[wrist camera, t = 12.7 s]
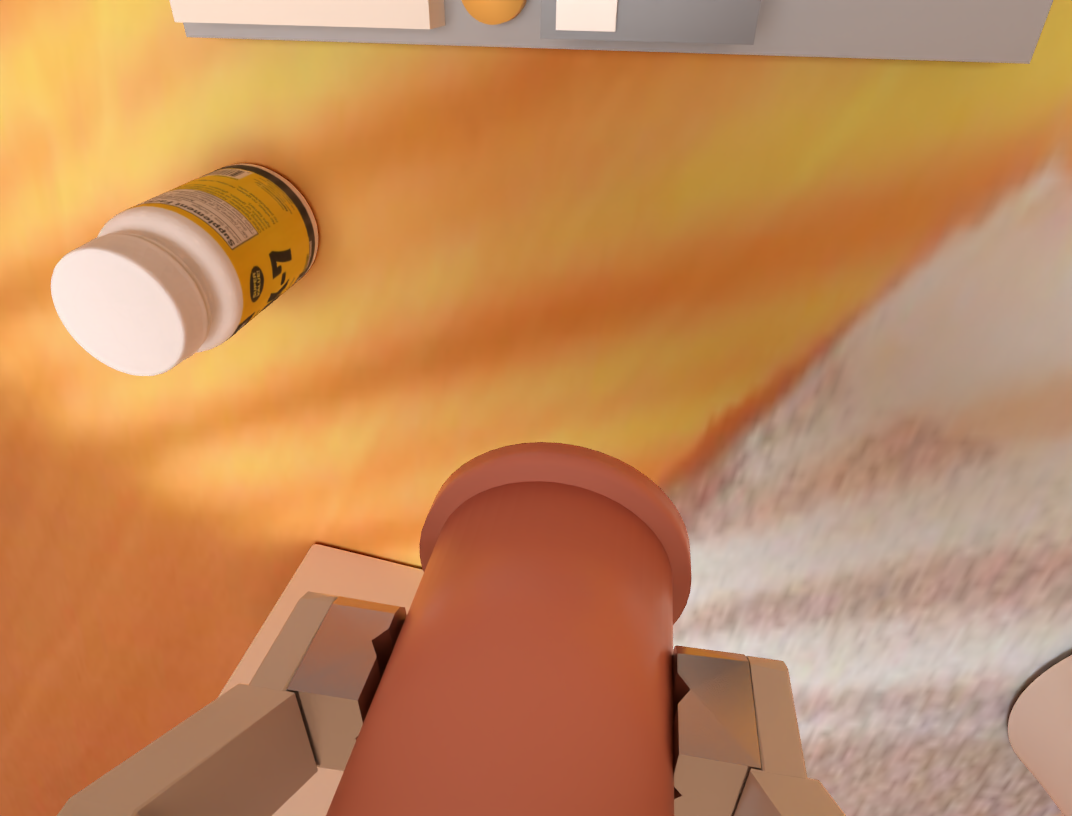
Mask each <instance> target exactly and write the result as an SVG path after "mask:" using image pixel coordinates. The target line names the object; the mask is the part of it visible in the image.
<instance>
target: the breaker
mask: <svg viewBox="0 0 1072 816" xmlns="http://www.w3.org/2000/svg"><path fill="white" fill-rule="evenodd" d="M760 4H761V0H541V14H540V39H572V40H606V41H640V42H673V43H707V44H741V45H754V39H755V34H756V28H757V22H758V16H759V10H760Z"/></svg>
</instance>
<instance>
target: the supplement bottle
mask: <svg viewBox="0 0 1072 816" xmlns="http://www.w3.org/2000/svg"><path fill="white" fill-rule="evenodd" d="M317 249H318V229H317V224H316V220H315V218H314V215H313V213H312V210H311V208H310V206H309V205H308V203H307V201H306V200H305V198H304V197H303V196H302V194H301V193H300V192H299V191H298V190H297V189H296V188H295V187H294V186H293V185H292V184H291V183H290V182H289V181H288V180H286V179H285V178H283V177H282V176H280V175H279V174H277V173H275V172H273V171H272V170H269V169H267V168H264V167H262V166H258V165H254V164H234V165H229V166H226V167H223V168H221V169H218V170H216V171H214V172H211V173H209V174H207V175H204V176H202V177H200V178H197V179H195V180H193V181H190V182H188V183H186V184H184V185H181V186H179V187H177V188H175V189H172V190H170V191H168V192H166V193H163V194H161V195H159V196H156V197H154V198H152V199H150V200H147V201H145V202H143V203H140V204H138V205H136V206H134V207H131V208H129V209H127V210H125V211H123V212H121V213H119V214H117V215H116V216H114V217H113V218H112V219H110V220H109V221H108V222H107V223H106V224H105V225H104V227H103V228H102V229H101V231H100V233H99V235H98V237H97V238H95V239H93V240H91V241H90V242H88V243H86V244H84V245H82V246H80V247H79V248H77V249H75V250H73V251H71V252H69V253H67V254H66V255H65V256H64V257H63V258H62V259H61V260H60V261H59V262H58V263H57V265H56V267H55V269H54V271H53V275H52V279H51V293H52V299H53V302H54V306H55V308H56V311H57V313H58V315H59V317H60V319H61V321H62V323H63V324H64V326H65V328H66V329H67V331H68V332H69V333H70V334H71V336H72V337H73V338H74V339H75V340H76V341H77V343H78V344H79V345H80V346H82V347H83V348H84V349H85V350H86V351H87V352H88V353H89V354H91V355H92V356H93V357H95V358H96V359H98V360H99V361H101V362H102V363H104V364H106V365H107V366H109V367H111V368H113V369H116V370H118V371H121V372H124V373H127V374H130V375H137V376H153V375H158V374H162V373H164V372H167V371H168V370H170V369H172V368H173V367H175V366H176V365H178V364H179V363H180V362H182V361H183V360H185V359H187V358H189V357H190V356H192V355H193V354H194V353H196V352H202V351H206V350H210V349H212V348H214V347H217V346H218V345H220V344H222V343H223V342H225V341H226V340H228V339H229V338H230V337H231V336H233V335H234V334H235V333H236V332H237V331H238V330H239V329H241V328H242V327H243V326H244V325H246V324H247V323H248V322H249V321H250V320H252V319H253V318H254V317H255V316H256V315H258V314H259V313H260V312H261V311H262V310H264V309H265V308H266V307H267V306H268V305H270V304H271V303H272V302H273V301H274V300H276V299H277V298H278V297H279V296H280V295H282V294H283V293H284V292H285V291H286V290H287V289H289V288H290V287H291V286H293V285H294V284H295V283H296V282H297V281H298V280H300V279H301V278H302V277H303V276H304V275H305V274H306V273H307V272H308V270H309V269H310V268H311V266H312V264H313V262H314V260H315V257H316V253H317Z"/></svg>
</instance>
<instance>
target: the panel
mask: <svg viewBox="0 0 1072 816" xmlns="http://www.w3.org/2000/svg"><path fill="white" fill-rule="evenodd" d="M169 1H170V5H171V9H172V13H173V17H174V21H175V22H183V24H184V28H185V32H186V36H187V37H202V38H234V39H265V40H297V41H329V42H360V43H392V44H424V45H455V46H487V47H519V48H550V49H582V50H614V51H646V52H677V53H709V54H741V55H772V56H804V57H836V58H867V59H899V60H931V61H962V62H994V63H1026V64H1030V61H1031V58H1032V56H1033V53H1034V50H1035V48H1036V45H1037V42H1038V40H1039V37H1040V34H1041V32H1042V29H1043V26H1044V24H1045V21H1046V18H1047V16H1048V13H1049V10H1050V8H1051V5H1052V2H1053V0H761V4H760V10H759V16H758V22H757V28H756V34H755V39H754V45H741V44H707V43H673V42H640V41H606V40H572V39H540V14H541V0H169Z"/></svg>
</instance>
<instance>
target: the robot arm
mask: <svg viewBox="0 0 1072 816" xmlns="http://www.w3.org/2000/svg"><path fill="white" fill-rule="evenodd" d="M406 616H407V615H406V609H405V607H400V606H394V605H388V604H382V603H376V602H371V601H365V600H359V599H353V598H347V597H342V596H336V595H329V594H323V593H316V592H310V591H308V592H307V593H306V594H305V595H304V596H303V597H301V598H300V599H299V600H298V602H297V604H296V605H295V607H294V609H293V610H292V612H291V614H290V615H289V617H288V619H287V621H286V622H285V624H284V626H283V627H282V629H281V631H280V632H279V634H278V636H277V637H276V639H275V641H274V643H273V644H272V646H271V648H270V649H269V651H268V653H267V654H266V656H265V658H264V659H263V661H262V663H261V665H260V666H259V668H258V670H257V671H256V673H255V675H254V676H253V678H252V680H251V682H250V683H249V684H241V683H239V684H237V685H236V686H234V687H233V688H231V689H230V690H229V691H227V692H226V693H224V694H223V695H221V696H220V697H218V698H217V699H215V700H214V701H212V702H211V703H209V704H208V705H206V706H205V707H203V708H202V709H201V710H199V711H198V712H196V713H195V714H193V715H192V716H190V717H189V718H187V719H186V720H184V721H183V722H181V723H180V724H178V725H177V726H175V727H174V728H173V729H171V730H170V731H168V732H167V733H165V734H164V735H162V736H161V737H159V738H158V739H156V740H155V741H153V742H152V743H150V744H149V745H147V746H146V747H145V748H143V749H142V750H140V751H139V752H137V753H136V754H134V755H133V756H131V757H130V758H128V759H127V760H125V761H124V762H122V763H121V764H119V765H118V766H117V767H115V768H114V769H112V770H111V771H109V772H108V773H106V774H105V775H103V776H102V777H100V778H99V779H97V780H96V781H94V782H93V783H91V784H90V785H88V786H87V787H86V788H84V789H83V790H81V791H80V792H78V793H77V794H75V795H74V796H72V797H71V798H69V800H68V801H67V803H66V804H65V805H64V807H63V808H62V809H61V811H60V812H59V814H58V815H57V816H272V815H273V814H274V813H275V812H276V811H277V810H278V809H279V808H280V807H281V806H282V805H283V804H284V803H285V802H286V801H288V800H289V799H290V798H291V797H292V796H293V795H294V794H295V793H296V792H297V791H298V790H299V789H300V788H301V787H302V786H303V785H304V784H305V783H306V782H307V781H308V780H309V779H310V778H311V777H312V776H313V775H314V774H315V773H316V772H317V771H318V768H317V767H320V768H327V769H334V770H340V771H344V770H345V767H346V765H347V762H348V760H349V757H350V755H351V752H352V750H353V748H354V745H355V743H356V740H357V738H358V735H359V733H360V730H361V728H362V725H363V723H364V720H365V718H366V715H367V713H368V710H369V708H370V705H371V703H372V700H373V698H374V695H375V693H376V691H377V688H378V686H379V683H380V681H381V678H382V676H383V673H384V671H385V668H386V666H387V663H388V661H389V658H390V656H391V653H392V651H393V648H394V646H395V643H396V641H397V638H398V636H399V634H400V631H401V629H402V626H403V624H404V621H405V619H406ZM672 683H673V718H674V723H673V779H674V816H846V815H845V814H844V812H843V811H842V810H841V808H840V807H839V806H838V804H837V803H836V802H835V800H834V799H833V798H832V797H831V795H830V794H829V793H828V791H827V790H826V789H825V787H824V786H823V785H822V783H821V782H820V781H819V780H816V779H811V778H807V773H806V768H805V762H804V756H803V751H802V745H801V740H800V734H799V728H798V723H797V717H796V711H795V706H794V700H793V694H792V689H791V683H790V678H789V672H788V668H787V666H786V665H785V663H784V662H783V661H780V660H773V659H765V658H758V657H750V656H745V655H744V654H736V653H728V652H721V651H713V650H705V649H698V648H690V647H683V646H675V648H674V650H673V654H672ZM1008 736H1009V741H1010V744H1011V746H1012V748H1013V750H1014V752H1015V754H1016V755H1017V756H1018V758H1019V759H1020V760H1021V761H1022V762H1023V764H1024V765H1025V766H1026V767H1027V768H1028V769H1029V771H1030V772H1031V773H1032V774H1033V775H1034V777H1035V778H1036V779H1037V780H1038V782H1039V783H1040V784H1041V785H1042V787H1043V788H1044V789H1045V791H1046V792H1047V793H1048V795H1049V796H1050V797H1051V799H1052V800H1053V801H1054V803H1055V804H1056V805H1057V807H1058V808H1059V810H1060V811H1061V812H1062V814H1063V815H1064V816H1072V655H1071V656H1069V657H1067V658H1065V659H1063V660H1062V661H1060V662H1058V663H1057V664H1055V665H1054V666H1052V667H1051V668H1049V669H1048V670H1047V671H1045V672H1044V673H1043V674H1041V675H1040V676H1039V677H1038V678H1036V679H1035V680H1034V681H1033V682H1032V683H1031V684H1030V685H1029V686H1028V687H1027V688H1026V689H1025V690H1024V692H1023V693H1022V694H1021V695H1020V697H1019V698H1018V700H1017V701H1016V703H1015V705H1014V707H1013V709H1012V711H1011V714H1010V717H1009V722H1008Z"/></svg>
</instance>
